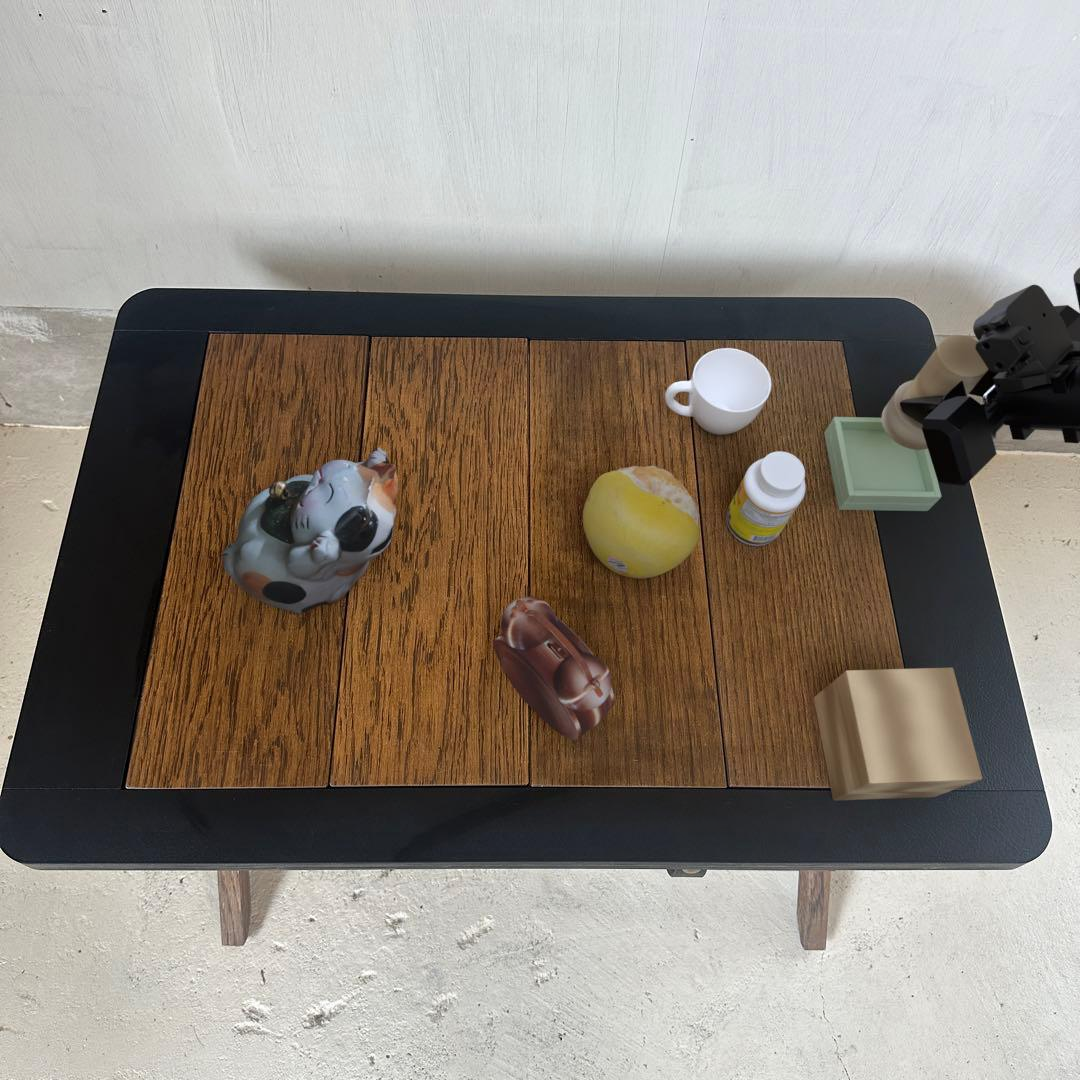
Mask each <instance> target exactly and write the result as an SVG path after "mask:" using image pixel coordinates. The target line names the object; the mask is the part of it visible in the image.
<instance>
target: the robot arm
mask: <svg viewBox="0 0 1080 1080" xmlns="http://www.w3.org/2000/svg"><path fill="white" fill-rule="evenodd" d="M1073 284H1074V289H1075V294H1076V300H1077V305H1078V309H1079V310H1080V267H1078V268H1077V270H1075V272H1074V273H1073ZM972 329H973V333H974V336H975V337H976V340H977V341H978V342H977V343H976V346H975V349H976V351H977V352H978V354H979V355H980V357H981V358H982V360H983V361H984V363H985V365H986V366H987V368H988V369H989V370H988V371H987V372H986V373H985V375H984V376H983V377H982V378H981V380H980V381H979V382H978V383H977V384H976V386H975V387H974V388H973V389H972V390H971V392H970V393H969V394H968V395H969V396H968V395H966V391H965V388H964V384H963V381H960V382H959V383H958V384H957V385H956V386H954V387H953V388H952V389H951V390H950V391H949V392H948V393H947V394H946V395H941V396H930V397H919V398H911V399H905V400H902V401H901V402H900V406H901V410H902V412H903V413H905V414H906V415H908V416H909V417H911V418H913V419H914V420H916V421H917V422H919V423H920V424H922V425H923V426H922V431H923V434H924V437H925V441H926V444H927V447H928V450H929V454H930V457H931V460H932V464H933V467H934V470H935V473H936V477H937V480H938V483H941V484H944V485H945V484H946V485H952V486H953V485H954V486H961V487H962V486H963V487H965V486H966V485H967V484H968V483H969V482H970V481H971V480H972V479H973V478H974V477H976V476H977V475H978V474H979V472H980V471H981V470H983V469H984V468H985V467H986V465H987V464H988V463H990V461H991V460H992V459H993V458H995V456H996V455H997V454H998V453H997V450H996V446H995V443H996V440H997V433H998V432H999V430H1001V429H1002V428H1003V427H1004V426H1009V427H1008V428H1009V430H1010V431H1009V432H1010V434H1011V438H1012V440H1014V441H1015V440H1016V441H1026V440H1027V439H1028V438H1029V437H1030V435H1032V434H1033V433H1034V432H1035V431H1047V432H1048V431H1052V432H1061V433H1062V438H1063V441H1064V442H1063V443H1065V444H1080V311H1077V310H1076V309H1074V308H1073V307H1072V306H1070V305H1068V304H1064V305H1054V304H1053V303H1052V301H1051V299H1050V298H1049V296H1048V294H1047V293H1046V292H1045V290H1044V289H1043V288H1042V287H1041V286H1040V285H1038V284H1031V285H1028V286H1026V287H1025V288H1022V289H1020V290H1018V291H1016V292H1014V293H1011V294H1010V295H1007V296H1005V297H1003V298H1001V299H999V300H997V301H995V302H994V303H993V305H992V306H991V307H990V308H988V309H987V310H986V311H985V312H984V313H983V314H981V315H980V316H979V317H978V318H976V319H975V320H974V322H973V326H972ZM972 396H976V397H981V398H982V402H979V401H978V400H976V399H974V397H972Z"/></svg>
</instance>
